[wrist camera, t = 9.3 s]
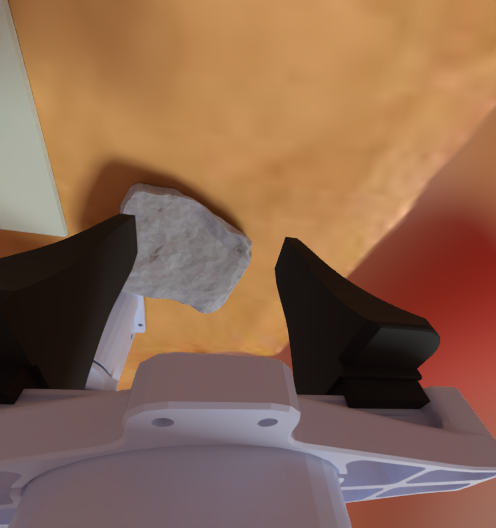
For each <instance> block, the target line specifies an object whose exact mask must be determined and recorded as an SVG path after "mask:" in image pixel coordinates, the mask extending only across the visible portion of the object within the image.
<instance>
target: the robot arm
mask: <svg viewBox="0 0 496 528" xmlns="http://www.w3.org/2000/svg"><path fill="white" fill-rule="evenodd" d="M137 254H138V246H137V232H136V218H135V215H129V214H122V213H121V214H118V215H116V216H114V217H111V218H109V219H107V220H105V221H103V222H101V223H99V224H97V225H95V226H93V227H91V228H89V229H87V230H85V231H83V232H80V233H78V234H76V235H73V236H71V237H69V238H66V239H64V240H61V241H59V242H56V243H53V244H50V245H47V246H44V247H41V248H38V249H34V250H31V251H27V252H23V253H19V254H15V255H12V256H8V257H4V258H0V528H352V526H351V523H350V519H349V516H348V512H347V508H346V505H345V503H348V502H356V501H364V500H371V499H379V498H386V497H395V496H402V495H411V494H421V493H431V492H443V491H457V490H461V489H463V488H466V487H469V486H472V485H475V484H478V483H480V482H483V481H486V480H489V479H492V478H494V477H496V440H495V439H494V438H493V436H492V435H491V434H490V432H489V431H488V430H487V428H486V427H485V425H484V424H483V423H482V421H481V420H480V419H479V417H478V416H477V415H476V413H475V412H474V410H473V409H472V408H471V406H470V405H469V404H468V402H467V401H466V400H465V398H464V397H463V396H462V394H461V393H460V392H459V390H458V389H457V388H455V387H436V386H435V387H434V386H432V387H427V388H424V389H423V388H422V387H421V385H420V384H419V382H418V380H421V379H422V376H421V374H420V373H419V371H418V370H417V368H418V367H419V366H420V365H422V364H423V363H424V362H425V361H426V360H427V359H428V358H429V357H430V356H431V355H433V353H434V352H435V351H436V350H437V348H438V346H439V344H440V336H439V335H438V333H437V332H436V331H435V329H434V328H433V327H432V326H431V325H430V323H429V322H428V321H427V320H426V319H425V318H422V317H420V316H417V315H415V314H412V313H410V312H407V311H405V310H402V309H400V308H398V307H395V306H393V305H391V304H389V303H387V302H385V301H382V300H381V299H379V298H377V297H375V296H373V295H371V294H370V293H368V292H366V291H364V290H363V289H361V288H359V287H358V286H356V285H354V284H353V283H351V282H350V281H348V280H347V279H345V278H344V277H343V276H341V275H340V274H338V273H337V272H336V271H335V270H333V269H332V268H331V267H330V266H328V265H327V264H326V263H325V262H324V261H322V260H321V259H320V258H319V257H318V256H317V255H316V254H315V253H313V252H312V251H311V250H310V249H309V248H308V247H307V246H306V245H305V244H303V243H302V242H301V241H300V240H298V239H297V238H290V237H285V240H284V243H283V246H282V249H281V252H280V255H279V258H278V261H277V264H276V266H275V275H276V284H277V288H278V292H279V296H280V300H281V303H282V307H283V311H284V315H285V318H286V323H287V327H288V334H289V341H290V348H291V357H292V366H293V377H294V381H293V377H292V372H291V369H290V368H289V367H288V366H287V365H285V364H284V363H283V362H282V361H280V360H277V359H273V358H269V357H264V356H246V355H226V354H206V353H186V352H173V353H163V354H157V355H155V356H153V357H151V358H149V359H147V360H145V361H143V362H141V363H140V364H139V367H138V369H137V371H136V374H135V377H134V381H133V384H132V387H131V389H127V390H120V391H116V389H117V386H118V383H119V379H120V377H121V374H122V371H123V368H124V365H125V362H126V359H127V356H128V353H129V350H130V348H131V345H132V342H133V339H134V336H135V333H143V332H145V329H146V324H145V308H144V297H143V296H141V295H135V294H131V293H128V292H124V291H122V289H123V287H124V285H125V283H126V281H127V279H128V277H129V275H130V273H131V271H132V269H133V266H134V263H135V260H136V257H137Z"/></svg>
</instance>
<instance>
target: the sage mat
mask: <svg viewBox="0 0 496 528" xmlns="http://www.w3.org/2000/svg"><path fill="white" fill-rule="evenodd" d="M0 229H4V230H12V231H20V232H28V233H37V234H45V235H53V236H61V237H66V236H67V235H68V231H67V227H66V223H65V219H64V215H63V211H62V207H61V204H60V200H59V196H58V192H57V188H56V184H55V181H54V177H53V173H52V169H51V165H50V161H49V158H48V154H47V150H46V146H45V142H44V138H43V134H42V131H41V127H40V123H39V119H38V115H37V111H36V108H35V104H34V100H33V96H32V92H31V88H30V84H29V81H28V77H27V73H26V69H25V65H24V61H23V58H22V54H21V50H20V46H19V42H18V38H17V34H16V31H15V27H14V23H13V19H12V15H11V11H10V8H9V4H8V0H0Z"/></svg>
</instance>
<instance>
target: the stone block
mask: <svg viewBox="0 0 496 528" xmlns="http://www.w3.org/2000/svg"><path fill="white" fill-rule="evenodd" d="M121 213H122V214H129V215H135V218H136V232H137V246H138V254H137V257H136V260H135V263H134V266H133V269H132V271H131V273H130V275H129V277H128V279H127V281H126V283H125V285H124V287H123V289H122V291H124V292H128V293H131V294H135V295H141V296H143V297H149V298H165V299H172V300H176V301H179V302H181V303H183V304H188V305H190V306H192V307H193V308H195V309H196V310H197V311H199V312H201V313H211V312H214V311H216V310H218V309H219V308H220V307H222V306H223V305H224V304H225V301H226V300H227V298H228V296H229V295H230V293H231V292H232V290H233V289H234V287H235V286H236V284H237V283H238V282H239V281H240V279H241V277H242V275H243V274H244V272H245V271H246V269H247V268H248V266H249V263H250V261H251V254H252V253H251V247H252V241H250V239H249V238H248V237H247V236H246V234H243V233H242V232H241V231H239V230H238V229H236V228H235V227H233V226H231V225H230V224H228V223H226V222H225V221H224V220H223V219H222V218H220V217H218V216H217V215H215V214H213V213H212V212H211V211H210V210H209V209H208V208H207V207H205V206H203V205H202V204H200V203H198V202H197V201H196V200H194V199H193V198H191V197H188V196H185V195H183V194H182V193H181V192H180V191H178V190H176V189H174V188H166V187H158V186H152V185H149V184H142V183H136V184H134V185H132V186H131V187H130V188H129V190H128V192H127V194H126V196H125V198H124V200H123V201H122V203H121V205H120V214H121Z"/></svg>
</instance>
